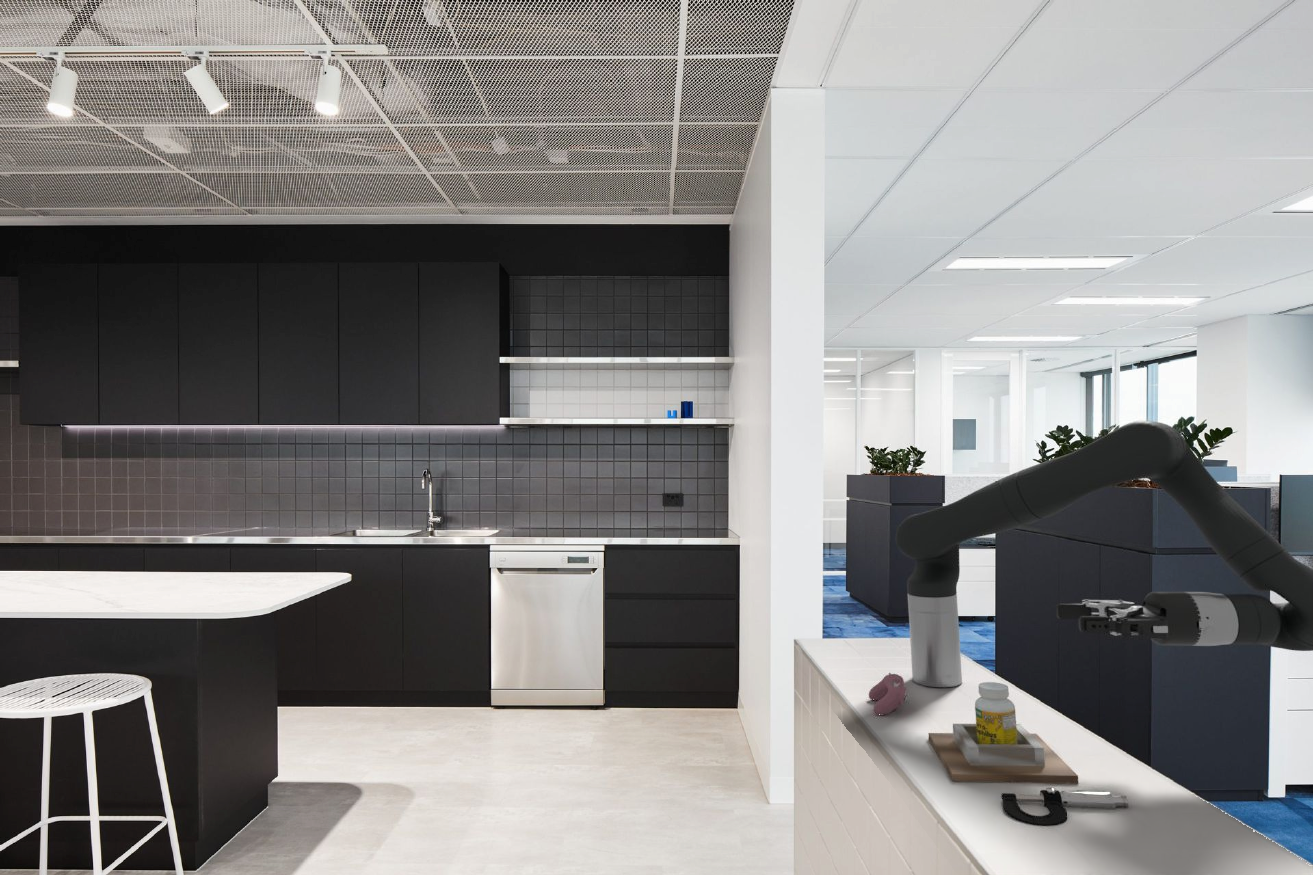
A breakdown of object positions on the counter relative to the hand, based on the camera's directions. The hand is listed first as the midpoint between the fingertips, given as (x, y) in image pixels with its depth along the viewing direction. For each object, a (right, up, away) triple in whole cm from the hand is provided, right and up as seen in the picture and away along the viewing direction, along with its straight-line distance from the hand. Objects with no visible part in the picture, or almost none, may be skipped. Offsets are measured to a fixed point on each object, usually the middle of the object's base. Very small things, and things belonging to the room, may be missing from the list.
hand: (1068, 617), depth 111 cm
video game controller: (-19, -22, +25) cm, 38 cm away
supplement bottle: (-10, -20, 0) cm, 22 cm away
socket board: (-11, -21, -1) cm, 23 cm away
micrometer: (-10, -20, -18) cm, 29 cm away
